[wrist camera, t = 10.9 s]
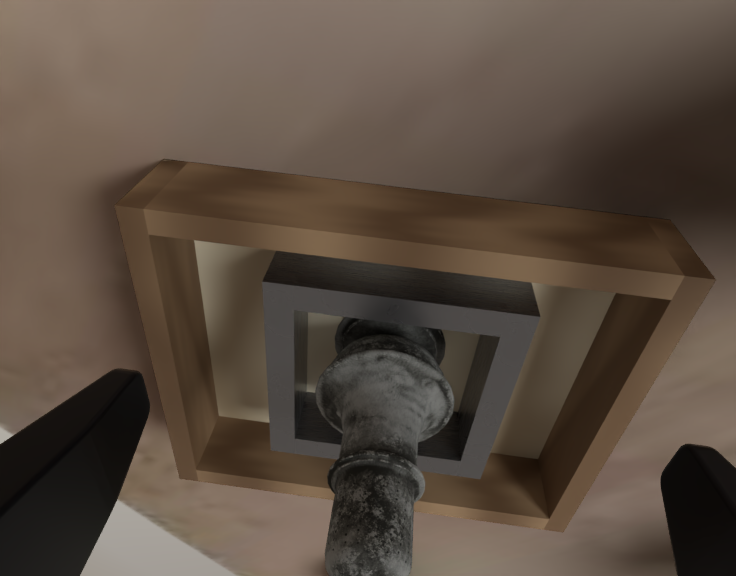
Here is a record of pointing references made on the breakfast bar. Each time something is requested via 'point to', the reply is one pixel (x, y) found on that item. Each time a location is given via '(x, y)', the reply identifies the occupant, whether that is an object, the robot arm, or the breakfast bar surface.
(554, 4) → the breakfast bar surface
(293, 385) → the inlet collar
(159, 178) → the walled box
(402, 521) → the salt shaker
